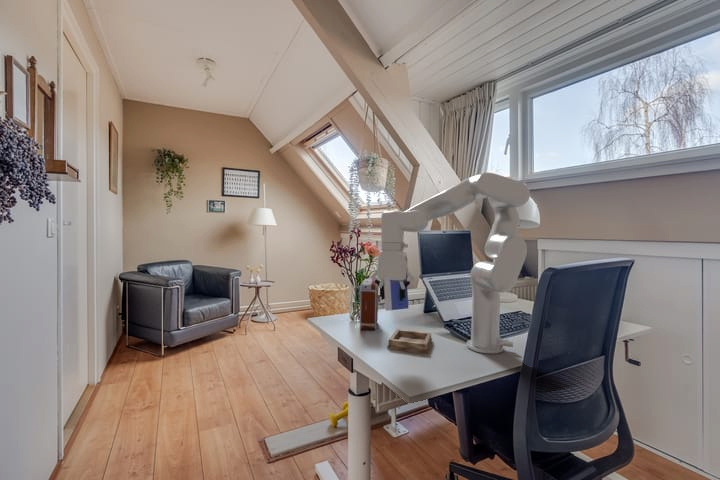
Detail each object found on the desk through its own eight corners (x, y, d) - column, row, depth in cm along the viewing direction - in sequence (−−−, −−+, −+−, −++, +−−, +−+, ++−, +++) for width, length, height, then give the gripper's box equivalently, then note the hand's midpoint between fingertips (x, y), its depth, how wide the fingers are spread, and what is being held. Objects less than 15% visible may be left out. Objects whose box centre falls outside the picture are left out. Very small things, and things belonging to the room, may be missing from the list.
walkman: (406, 306, 117) (404, 272, 117) (408, 308, 114) (406, 273, 114) (384, 308, 116) (382, 274, 116) (386, 310, 113) (383, 275, 113)
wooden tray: (431, 341, 129) (432, 332, 129) (426, 354, 116) (427, 344, 115) (396, 336, 133) (396, 328, 133) (387, 348, 120) (387, 339, 120)
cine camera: (380, 318, 159) (381, 277, 158) (378, 331, 140) (379, 284, 139) (361, 318, 160) (361, 276, 159) (356, 330, 140) (357, 283, 140)
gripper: (419, 246, 115) (419, 298, 116) (371, 246, 121) (371, 295, 122) (416, 248, 108) (415, 303, 109) (365, 247, 114) (365, 300, 114)
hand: (392, 299), depth 115 cm, fingers closed on walkman, 5 cm apart
